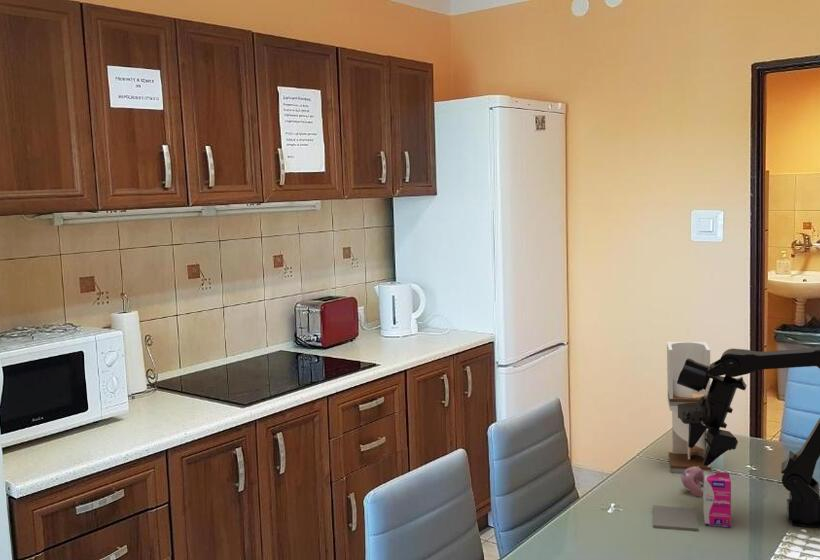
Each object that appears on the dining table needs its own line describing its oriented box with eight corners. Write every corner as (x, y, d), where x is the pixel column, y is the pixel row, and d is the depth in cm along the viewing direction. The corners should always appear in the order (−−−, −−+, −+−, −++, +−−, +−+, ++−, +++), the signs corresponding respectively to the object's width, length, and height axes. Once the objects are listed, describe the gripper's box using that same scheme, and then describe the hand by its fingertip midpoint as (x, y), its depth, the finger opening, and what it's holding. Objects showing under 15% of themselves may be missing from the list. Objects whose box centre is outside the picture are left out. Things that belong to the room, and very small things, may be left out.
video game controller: (700, 489, 207) (688, 464, 208) (716, 485, 204) (704, 460, 205) (687, 501, 199) (675, 475, 201) (703, 497, 196) (691, 471, 198)
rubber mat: (695, 510, 189) (695, 508, 189) (698, 531, 178) (698, 528, 178) (653, 507, 192) (652, 505, 192) (653, 527, 181) (653, 525, 181)
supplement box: (704, 526, 181) (704, 479, 179) (703, 516, 186) (703, 470, 185) (731, 528, 179) (731, 480, 178) (729, 518, 184) (729, 471, 183)
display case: (668, 458, 227) (666, 341, 223) (707, 460, 224) (706, 342, 220) (670, 472, 216) (669, 349, 212) (711, 474, 213) (710, 349, 209)
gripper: (673, 377, 194) (653, 432, 198) (703, 408, 176) (681, 468, 180) (714, 386, 195) (694, 441, 199) (748, 418, 177) (725, 477, 181)
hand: (697, 456), depth 190 cm, fingers open, 9 cm apart
